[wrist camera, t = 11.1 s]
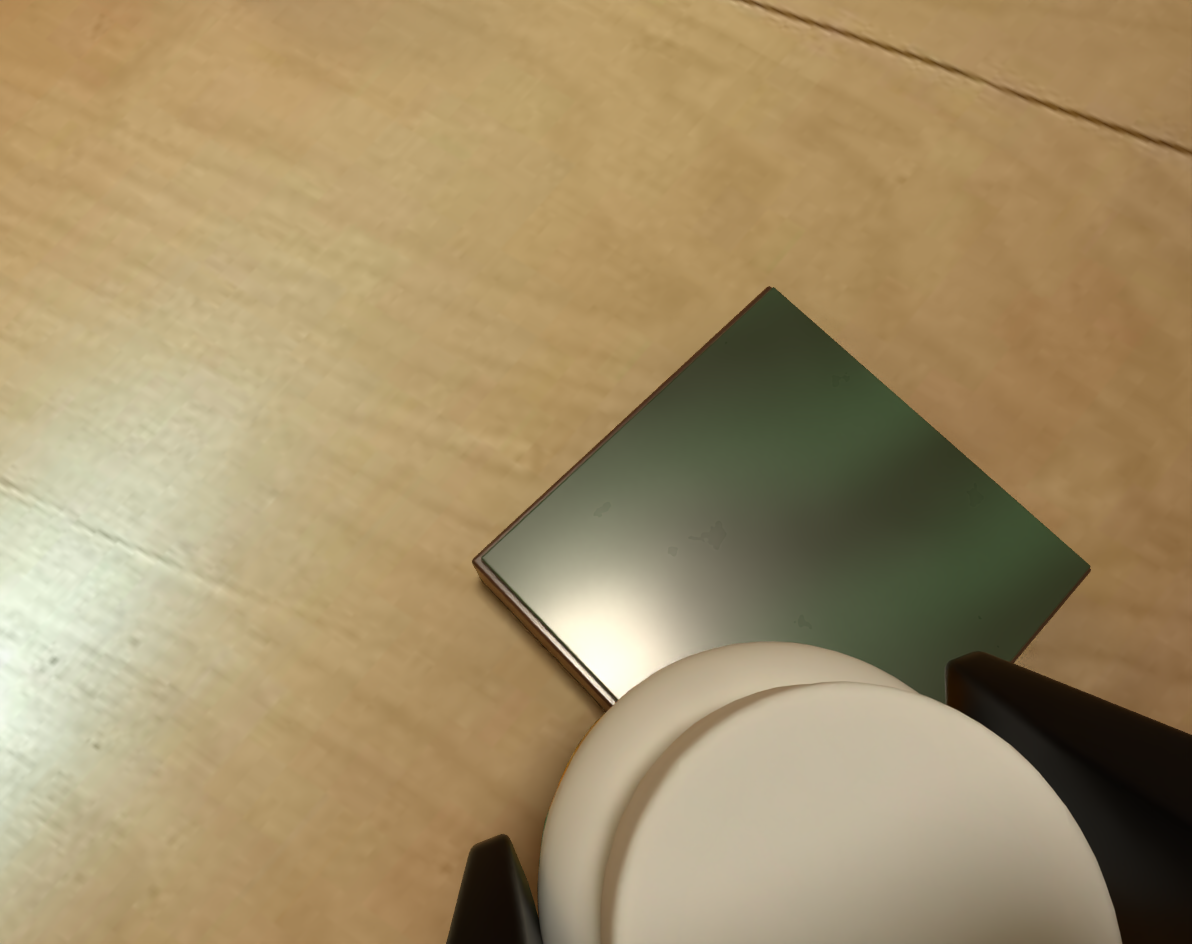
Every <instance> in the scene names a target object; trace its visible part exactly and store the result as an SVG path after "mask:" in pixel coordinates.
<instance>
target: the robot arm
mask: <svg viewBox="0 0 1192 944" xmlns="http://www.w3.org/2000/svg"><path fill="white" fill-rule="evenodd" d="M945 700H946V705H947V706H949V707H952V708H954V709H956V710H958V711H960V712H961V713H963V714H965V715H966V716H968V717H970V718H972V719H974V720H975V721H977V722H979V723H980V724H982V725H983V726H985V727H986V728H988V729H989V730H991V731H992V732H994V733H995V734H996V735H998V736H999V737H1000V738H1002V739H1003V740H1004V741H1006V742H1007V743H1009V744H1010V745H1011V746H1012V747H1013V748H1014V749H1016V750H1017V751H1018V752H1019V753H1020V754H1021V755H1022V756H1023V757H1024V758H1025V759H1026V760H1027V761H1028V762H1029V763H1030V764H1031V765H1032V766H1033V767H1034V768H1035V769H1036V770H1037V771H1038V772H1039V773H1040V774H1041V775H1042V777H1043V778H1044V779H1045V780H1046V782H1047V783H1048V784H1049V785H1050V786H1051V788H1052V789H1053V790H1054V791H1055V793H1056V794H1057V795H1058V797H1059V798H1060V799H1061V801H1062V802H1063V803H1064V804H1065V806H1066V807H1067V808H1068V810H1069V812H1070V813H1071V815H1072V816H1073V818H1074V820H1075V821H1076V823H1077V824H1078V826H1079V827H1080V829H1081V831H1082V833H1083V835H1084V836H1085V838H1086V840H1087V842H1088V844H1089V846H1090V848H1091V850H1092V852H1093V854H1094V855H1095V857H1096V860H1097V862H1098V865H1099V867H1100V870H1101V872H1102V875H1103V878H1104V880H1105V883H1106V886H1107V889H1108V892H1109V895H1110V898H1111V901H1112V903H1113V906H1114V909H1115V914H1116V918H1117V922H1118V926H1119V931H1120V935H1121V939H1122V944H1192V735H1190V734H1188V733H1185V732H1183V731H1180V730H1178V729H1175V728H1173V727H1171V726H1168V725H1166V724H1163V723H1161V722H1158V721H1156V720H1153V719H1151V718H1148V717H1146V716H1143V715H1141V714H1138V713H1136V712H1133V711H1131V710H1128V709H1126V708H1123V707H1121V706H1118V705H1116V704H1113V703H1111V702H1108V701H1106V700H1103V699H1101V698H1098V697H1096V696H1093V695H1091V694H1088V693H1086V692H1083V691H1081V690H1078V689H1076V688H1073V687H1071V686H1068V685H1066V684H1063V683H1061V682H1058V681H1056V680H1053V679H1051V678H1048V677H1046V676H1043V675H1041V674H1038V673H1036V672H1033V671H1031V670H1028V669H1026V668H1023V667H1021V666H1018V665H1016V664H1013V663H1011V662H1008V661H1006V660H1003V659H1001V658H998V657H996V656H993V655H991V654H988V653H985V652H981V651H974V652H971V653H968V654H965V655H963V656H960V657H958V658H955V659H953V660H950V661H949V662H948V663H947V665H946V667H945ZM446 944H543V942H542V937H541V932H540V925H539V918H538V915H537V911H536V907H535V904H534V900H533V896H532V893H531V890H530V887H529V884H528V881H527V878H526V876H525V874H524V871H523V869H522V866H521V864H520V861H519V859H518V857H517V854H516V852H515V849H514V847H513V844H512V842H511V840H510V838H509V837H508V836H507V835H505V834H500V835H498V836H495V837H492V838H490V839H487V840H485V841H482V842H480V843H477V844H475V845H474V846H473V847H472V848H471V850H470V852H469V856H468V859H467V863H466V867H465V871H464V875H463V879H462V883H461V887H460V891H459V895H458V899H457V903H456V907H455V911H454V915H453V919H452V923H451V927H450V931H449V935H448V939H447V942H446Z"/></svg>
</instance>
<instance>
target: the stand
mask: <svg viewBox="0 0 1192 944" xmlns="http://www.w3.org/2000/svg"><path fill="white" fill-rule="evenodd" d="M472 563H473V565H474V567H475V569H476V571H477V573H478V575H479V577H480V579H481V580H482V582H483V583H484V584H485V585H486V586H487V587H488V588H489V589H490V590H491V591H492V592H493V593H494V594H495V595H496V596H497V597H498V598H499V599H500V600H501V602H502V603H503V604H504V605H505V606H506V607H507V608H508V609H509V610H510V611H511V612H512V613H513V614H514V615H515V616H516V617H517V618H518V619H519V620H520V621H521V623H522V624H523V625H524V626H525V627H526V628H527V629H528V630H529V631H530V632H531V633H532V634H533V635H534V636H535V637H536V638H537V639H538V640H539V641H540V642H541V644H542V645H543V646H544V647H545V648H546V649H547V650H548V651H549V652H550V653H551V654H552V655H553V656H554V657H555V658H556V659H557V660H558V661H559V662H560V663H561V665H562V666H563V667H564V668H565V669H566V670H567V671H568V672H569V673H570V674H571V675H572V676H573V677H574V678H575V679H576V680H577V681H578V682H579V683H580V685H581V686H582V687H583V688H584V689H585V690H586V691H587V692H588V693H589V694H590V695H591V696H592V697H593V698H594V699H595V700H596V701H597V702H598V703H599V704H600V706H601V707H602V708H603V709H604V710H605V711H606V712H607V711H608V710H609V709H610V708H611V707H612V706H613V705H614V704H615V703H616V702H617V701H618V700H619V699H620V698H621V697H622V696H623V695H625V694H626V693H627V692H628V691H629V690H631V689H632V688H633V687H635V686H636V685H638V684H639V683H641V682H642V681H643V680H645V679H646V678H648V677H649V676H650V675H652V674H653V673H655V672H657V671H659V670H660V669H662V668H664V667H666V666H668V665H670V664H672V663H674V662H676V661H678V660H680V659H683V658H685V657H688V656H691V655H694V654H697V653H700V652H703V651H707V650H710V649H714V648H718V647H723V646H727V645H732V644H739V643H750V642H792V643H800V644H807V645H812V646H816V647H820V648H824V649H829V650H832V651H836V652H839V653H843V654H845V655H848V656H851V657H854V658H857V659H859V660H862V661H864V662H866V663H868V664H871V665H873V666H875V667H877V668H879V669H881V670H882V671H884V672H886V673H888V674H890V675H892V676H893V677H895V678H897V679H898V680H900V681H901V682H903V683H904V684H906V685H907V686H909V687H910V688H912V689H913V690H915V691H916V692H918V693H919V694H921V695H924V696H927V697H929V698H932V699H934V700H936V701H938V702H941V703H943V704H945V705H946V700H945V667H946V665H947V663H948V662H949V661H950V660H953V659H955V658H958V657H960V656H963V655H965V654H968V653H971V652H974V651H981V652H985V653H988V654H991V655H993V656H996V657H998V658H1001V659H1003V660H1006V661H1008V662H1011V663H1014V662H1015V661H1016V659H1017V658H1018V657H1019V656H1020V655H1021V654H1022V652H1023V651H1024V650H1025V649H1026V648H1027V646H1028V645H1029V644H1030V643H1031V642H1032V640H1033V639H1034V638H1035V637H1036V636H1037V635H1038V633H1039V632H1040V631H1041V630H1042V629H1043V627H1044V626H1045V625H1046V624H1047V623H1048V621H1049V620H1050V619H1051V618H1052V617H1053V615H1054V614H1055V613H1056V612H1057V611H1058V610H1059V608H1060V607H1061V606H1062V605H1063V604H1064V602H1065V601H1066V600H1067V599H1068V598H1069V596H1070V595H1071V594H1072V593H1073V592H1074V591H1075V589H1076V588H1077V587H1078V586H1079V585H1080V583H1081V582H1082V581H1083V580H1084V579H1085V577H1086V576H1087V575H1088V574H1089V573H1090V571H1091V569H1090V565H1089V564H1088V563H1087V562H1085V561H1084V560H1083V559H1082V558H1081V557H1080V556H1079V555H1077V554H1076V553H1075V552H1074V551H1073V550H1072V549H1071V548H1070V547H1068V546H1067V545H1066V544H1065V543H1064V542H1063V541H1062V540H1060V539H1059V538H1058V537H1057V536H1056V535H1055V534H1054V533H1052V532H1051V531H1050V530H1049V529H1048V528H1047V527H1046V526H1045V525H1043V524H1042V523H1041V522H1040V521H1039V520H1038V519H1037V518H1035V517H1034V516H1033V515H1032V514H1031V513H1030V512H1029V511H1027V510H1026V509H1025V508H1024V507H1023V506H1022V505H1021V504H1020V503H1018V502H1017V501H1016V500H1015V499H1014V498H1013V497H1012V496H1010V495H1009V494H1008V493H1007V492H1006V491H1005V490H1004V489H1002V488H1001V487H1000V486H999V485H998V484H997V483H996V482H995V481H993V480H992V479H991V478H990V477H989V476H988V475H987V474H985V473H984V472H983V471H982V470H981V469H980V468H979V467H978V466H976V465H975V464H974V463H973V462H972V461H971V460H970V459H968V458H967V457H966V456H965V455H964V454H963V453H962V452H960V451H959V450H958V449H957V448H956V447H955V446H954V445H953V444H951V443H950V442H949V441H948V440H947V439H946V438H945V437H943V436H942V435H941V434H940V433H939V432H938V431H937V430H935V429H934V428H933V427H932V426H931V425H930V424H929V423H928V422H926V421H925V420H924V419H923V418H922V417H921V416H920V415H918V414H917V413H916V412H915V411H914V410H913V409H912V408H910V407H909V406H908V405H907V404H906V403H905V402H904V401H903V400H901V399H900V398H899V397H898V396H897V395H896V394H895V393H893V392H892V391H891V390H890V389H889V388H888V387H887V386H885V385H884V384H883V383H882V382H881V381H880V380H879V379H878V378H876V377H875V376H874V375H873V374H872V373H871V372H870V371H868V370H867V369H866V368H865V367H864V366H863V365H862V364H860V363H859V362H858V361H857V360H856V359H855V358H854V357H853V356H851V355H850V354H849V353H848V352H847V351H846V350H845V349H843V348H842V347H841V346H840V345H839V344H838V343H837V342H835V341H834V340H833V339H832V338H831V337H830V336H829V335H828V334H826V333H825V332H824V331H823V330H822V329H821V328H820V327H818V326H817V325H816V324H815V323H814V322H813V321H812V320H811V319H809V318H808V317H807V316H806V315H805V314H804V313H803V312H801V311H800V310H799V309H798V308H797V307H796V306H795V305H793V304H792V303H791V302H790V301H789V300H788V299H787V298H786V297H784V296H783V295H782V294H781V293H780V292H779V291H778V290H776V289H775V288H774V287H773V288H772V287H770V286H769V287H767V288H766V289H764V290H763V291H762V292H761V293H760V294H759V295H758V296H757V297H756V298H755V299H754V300H753V301H752V302H750V303H749V304H748V305H747V306H746V307H745V308H744V309H743V310H742V311H741V312H740V313H739V314H737V315H736V316H735V317H734V318H733V319H732V320H731V321H730V322H729V323H728V324H727V325H726V326H724V327H723V328H722V329H721V330H720V331H719V332H718V333H717V334H716V335H715V336H714V337H713V338H711V339H710V340H709V341H708V342H707V343H706V344H705V345H704V346H703V347H702V348H701V349H700V350H698V351H697V352H696V353H695V354H694V355H693V356H692V357H691V358H690V359H689V360H688V361H687V362H685V363H684V364H683V365H682V366H681V367H680V368H679V369H678V370H677V371H676V372H675V373H674V374H672V375H671V376H670V377H669V378H668V379H667V380H666V381H665V382H664V383H663V384H662V385H661V386H660V387H658V388H657V389H656V390H655V391H654V392H653V393H652V394H651V395H650V396H649V397H648V398H647V399H645V400H644V401H643V402H642V403H641V404H640V405H639V406H638V407H637V408H636V409H635V410H634V411H632V412H631V413H630V414H629V415H628V416H627V417H626V418H625V419H624V420H623V421H622V422H621V423H619V424H618V425H617V426H616V427H615V428H614V429H613V430H612V431H611V432H610V433H609V434H608V435H606V436H605V437H604V438H603V439H602V440H601V441H600V442H599V443H598V444H597V445H596V446H595V447H593V448H592V449H591V450H590V451H589V452H588V453H587V454H586V455H585V456H584V457H583V458H582V459H581V460H579V461H578V462H577V463H576V464H575V465H574V466H573V467H572V468H571V469H570V470H569V471H568V472H566V473H565V474H564V475H563V476H562V477H561V478H560V479H559V480H558V481H557V482H556V483H555V484H553V485H552V486H551V487H550V488H549V489H548V490H547V491H546V492H545V493H544V494H543V495H542V496H540V497H539V498H538V499H537V500H536V501H535V502H534V503H533V504H532V505H531V506H530V507H529V508H527V509H526V510H525V511H524V512H523V513H522V514H521V515H520V516H519V517H518V518H517V519H516V520H514V521H513V522H512V523H511V524H510V525H509V526H508V527H507V528H506V529H505V530H504V531H503V532H501V533H500V534H499V535H498V536H497V537H496V538H495V539H494V540H493V541H492V542H491V543H490V544H489V545H487V546H486V547H485V548H484V549H483V550H482V551H481V552H480V553H479V554H478V555H477V556H476V557H474V558H473V560H472Z"/></svg>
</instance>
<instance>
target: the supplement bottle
mask: <svg viewBox="0 0 1192 944" xmlns="http://www.w3.org/2000/svg"><path fill="white" fill-rule="evenodd" d="M538 914H539V925H540V932H541V937H542V942H543V944H1122V939H1121V935H1120V931H1119V926H1118V922H1117V918H1116V914H1115V909H1114V906H1113V903H1112V901H1111V898H1110V895H1109V892H1108V889H1107V886H1106V883H1105V880H1104V878H1103V875H1102V872H1101V870H1100V867H1099V865H1098V862H1097V860H1096V857H1095V855H1094V854H1093V852H1092V850H1091V848H1090V846H1089V844H1088V842H1087V840H1086V838H1085V836H1084V835H1083V833H1082V831H1081V829H1080V827H1079V826H1078V824H1077V823H1076V821H1075V820H1074V818H1073V816H1072V815H1071V813H1070V812H1069V810H1068V808H1067V807H1066V806H1065V804H1064V803H1063V802H1062V801H1061V799H1060V798H1059V797H1058V795H1057V794H1056V793H1055V791H1054V790H1053V789H1052V788H1051V786H1050V785H1049V784H1048V783H1047V782H1046V780H1045V779H1044V778H1043V777H1042V775H1041V774H1040V773H1039V772H1038V771H1037V770H1036V769H1035V768H1034V767H1033V766H1032V765H1031V764H1030V763H1029V762H1028V761H1027V760H1026V759H1025V758H1024V757H1023V756H1022V755H1021V754H1020V753H1019V752H1018V751H1017V750H1016V749H1014V748H1013V747H1012V746H1011V745H1010V744H1009V743H1007V742H1006V741H1004V740H1003V739H1002V738H1000V737H999V736H998V735H996V734H995V733H994V732H992V731H991V730H989V729H988V728H986V727H985V726H983V725H982V724H980V723H979V722H977V721H975V720H974V719H972V718H970V717H968V716H966V715H965V714H963V713H961V712H960V711H958V710H956V709H954V708H952V707H949V706H947V705H945V704H943V703H941V702H938V701H936V700H934V699H932V698H929V697H927V696H924V695H921V694H919V693H918V692H916V691H915V690H913V689H912V688H910V687H909V686H907V685H906V684H904V683H903V682H901V681H900V680H898V679H897V678H895V677H893V676H892V675H890V674H888V673H886V672H884V671H882V670H881V669H879V668H877V667H875V666H873V665H871V664H868V663H866V662H864V661H862V660H859V659H857V658H854V657H851V656H848V655H845V654H843V653H839V652H836V651H832V650H829V649H824V648H820V647H816V646H812V645H807V644H800V643H792V642H750V643H739V644H732V645H727V646H723V647H718V648H714V649H710V650H707V651H703V652H700V653H697V654H694V655H691V656H688V657H685V658H683V659H680V660H678V661H676V662H674V663H672V664H670V665H668V666H666V667H664V668H662V669H660V670H659V671H657V672H655V673H653V674H652V675H650V676H649V677H648V678H646V679H645V680H643V681H642V682H641V683H639V684H638V685H636V686H635V687H633V688H632V689H631V690H629V691H628V692H627V693H626V694H625V695H623V696H622V697H621V698H620V699H619V700H618V701H617V702H616V703H615V704H614V705H613V706H612V707H611V708H610V709H609V710H608V711H607V712H606V713H605V714H604V715H603V716H602V717H601V718H600V719H598V720H597V721H596V722H595V724H594V725H593V726H592V727H591V728H590V729H589V730H588V732H587V733H586V734H585V736H584V737H583V738H582V740H581V741H580V743H579V744H578V746H577V747H576V749H575V751H574V752H573V754H572V756H571V758H570V760H569V762H568V764H567V766H566V768H565V771H564V773H563V775H562V777H561V780H560V782H559V784H558V787H557V791H556V793H555V796H554V798H553V800H552V803H551V805H550V807H549V810H548V814H547V817H546V820H545V824H544V829H543V834H542V842H541V851H540V860H539V871H538Z"/></svg>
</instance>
